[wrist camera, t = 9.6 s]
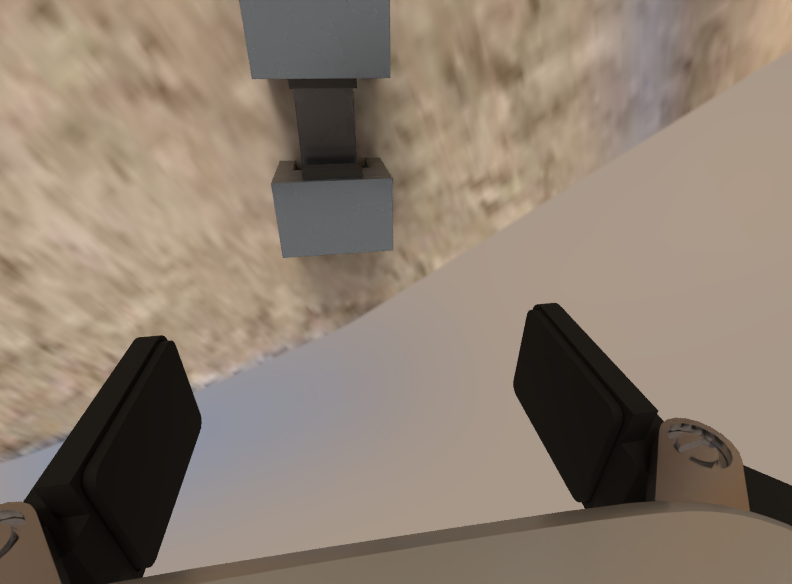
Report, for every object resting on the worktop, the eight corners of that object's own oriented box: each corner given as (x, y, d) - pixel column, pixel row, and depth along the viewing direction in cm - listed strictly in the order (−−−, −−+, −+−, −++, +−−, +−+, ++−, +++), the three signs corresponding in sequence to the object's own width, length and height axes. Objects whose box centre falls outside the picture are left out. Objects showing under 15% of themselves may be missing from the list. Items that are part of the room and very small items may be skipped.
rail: (374, -16, 20) (389, -36, 16) (379, 220, 26) (391, 250, 22) (251, -19, 19) (232, -42, 15) (287, 225, 26) (281, 258, 21)
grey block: (379, 151, 24) (392, 170, 20) (381, 219, 26) (392, 250, 22) (278, 154, 23) (269, 174, 19) (288, 224, 26) (282, 257, 21)
